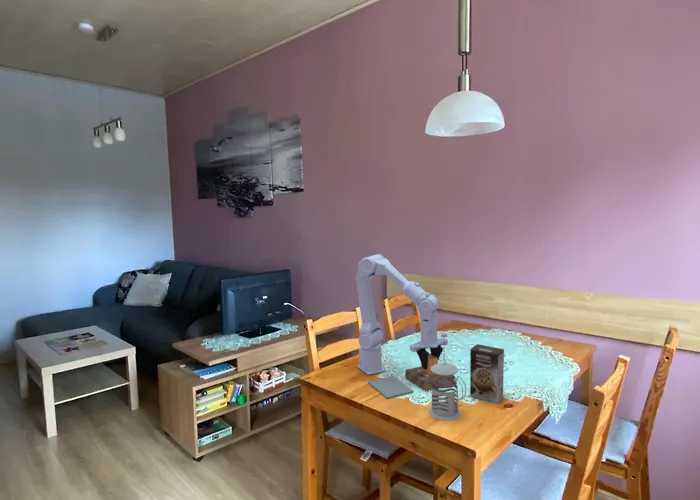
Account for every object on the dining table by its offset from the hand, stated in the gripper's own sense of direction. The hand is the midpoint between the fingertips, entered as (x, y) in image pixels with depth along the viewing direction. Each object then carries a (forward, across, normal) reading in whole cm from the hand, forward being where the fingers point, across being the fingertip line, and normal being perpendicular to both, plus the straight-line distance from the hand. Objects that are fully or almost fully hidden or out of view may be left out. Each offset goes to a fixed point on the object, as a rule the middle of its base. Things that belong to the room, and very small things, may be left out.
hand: (429, 367), depth 155 cm
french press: (+5, -9, -22) cm, 24 cm away
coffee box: (+5, +9, -19) cm, 22 cm away
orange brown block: (+5, 0, 0) cm, 5 cm away
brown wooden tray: (+5, 0, 0) cm, 5 cm away
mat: (+5, -15, +2) cm, 16 cm away
